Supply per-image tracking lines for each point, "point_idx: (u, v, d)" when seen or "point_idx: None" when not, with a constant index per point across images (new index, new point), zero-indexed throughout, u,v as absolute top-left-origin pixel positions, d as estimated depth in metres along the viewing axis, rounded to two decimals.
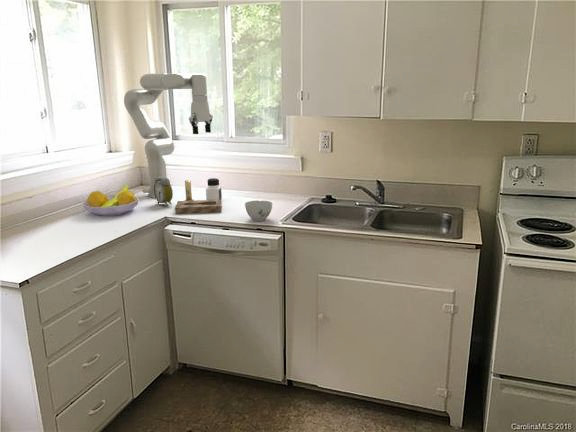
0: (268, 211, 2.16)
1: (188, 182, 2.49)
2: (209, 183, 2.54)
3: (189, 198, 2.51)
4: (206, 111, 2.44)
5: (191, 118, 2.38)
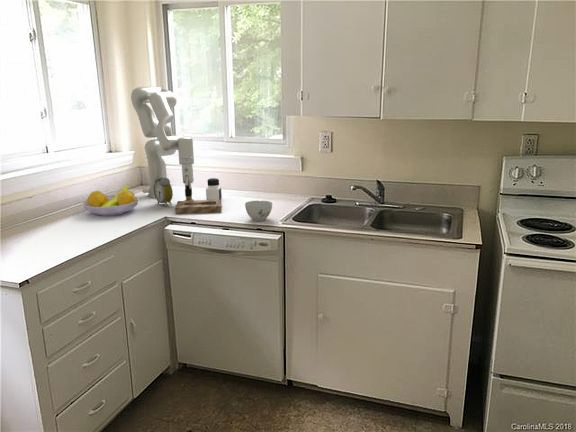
0: (268, 211, 2.16)
1: (188, 182, 2.49)
2: (209, 183, 2.54)
3: (189, 198, 2.51)
4: None
5: None
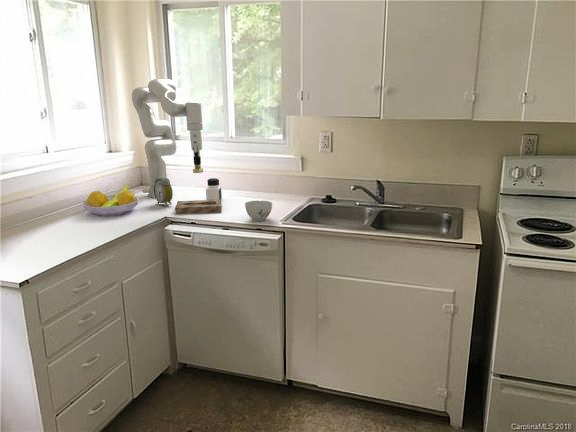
0: (268, 211, 2.16)
1: (197, 149, 2.38)
2: (209, 183, 2.54)
3: (198, 166, 2.40)
4: None
5: None
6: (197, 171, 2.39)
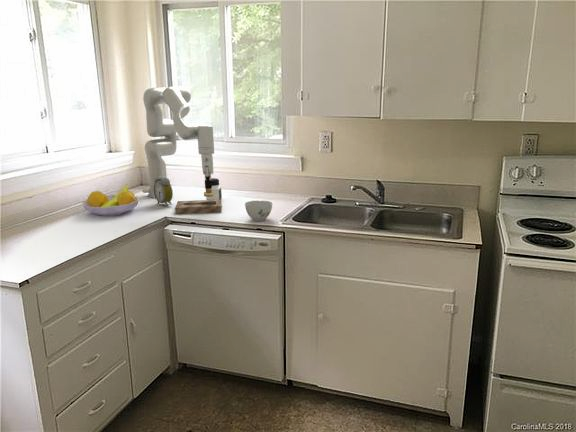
0: (268, 211, 2.16)
1: None
2: None
3: (209, 190, 2.36)
4: None
5: None
6: (208, 195, 2.36)
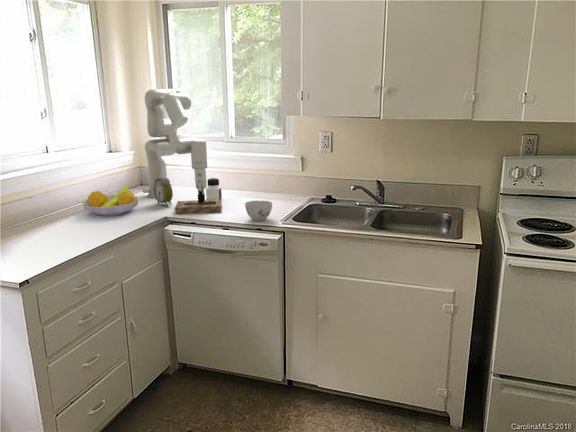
0: (268, 211, 2.16)
1: None
2: (209, 183, 2.54)
3: (202, 204, 2.38)
4: None
5: None
6: None
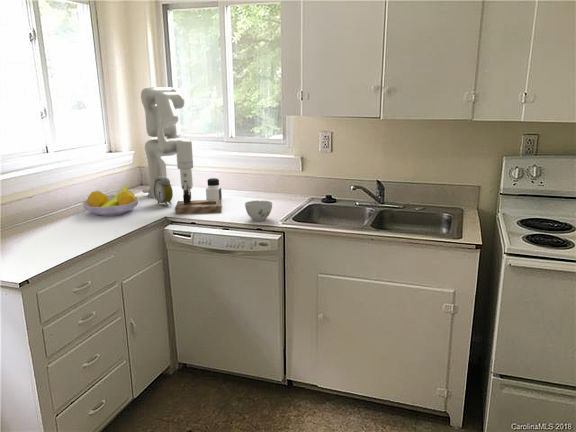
0: (268, 211, 2.16)
1: None
2: (209, 183, 2.54)
3: None
4: None
5: None
6: None
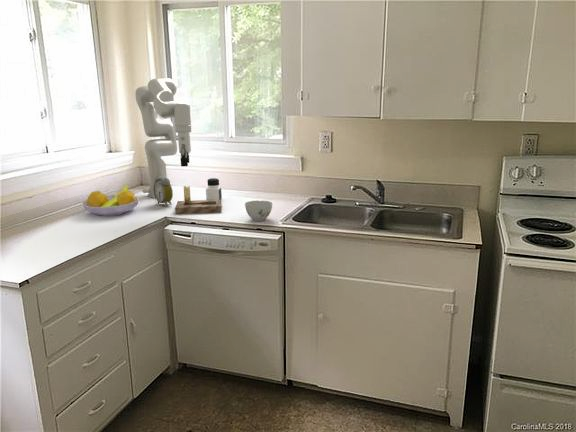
0: (268, 211, 2.16)
1: (187, 188, 2.35)
2: (209, 183, 2.54)
3: None
4: None
5: None
6: None
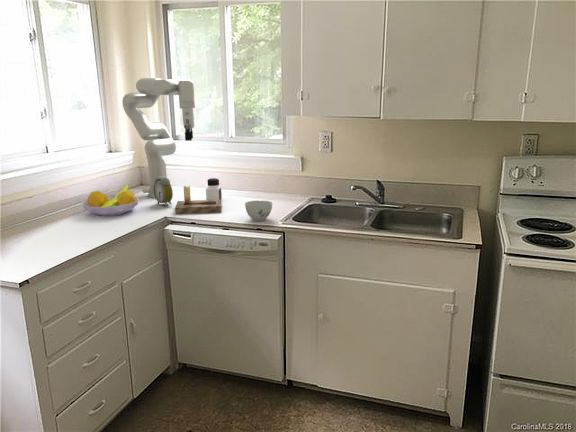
0: (268, 211, 2.16)
1: (187, 188, 2.35)
2: (209, 183, 2.54)
3: None
4: None
5: None
6: None
